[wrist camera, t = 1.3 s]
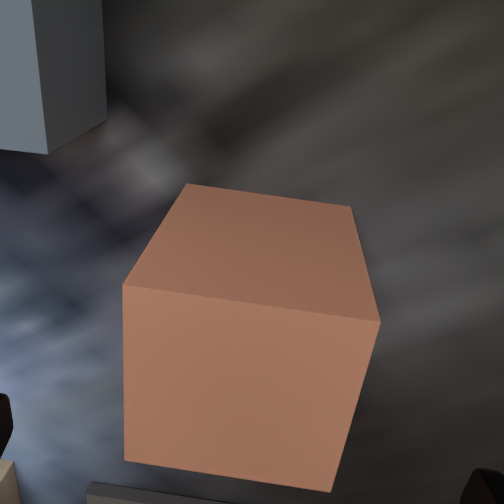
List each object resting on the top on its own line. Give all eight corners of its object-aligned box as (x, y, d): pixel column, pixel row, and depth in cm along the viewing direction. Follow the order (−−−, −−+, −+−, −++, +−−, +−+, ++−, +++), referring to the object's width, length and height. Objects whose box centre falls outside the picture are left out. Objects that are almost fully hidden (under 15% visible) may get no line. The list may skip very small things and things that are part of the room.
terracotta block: (350, 206, 14) (380, 322, 9) (320, 338, 17) (330, 492, 11) (186, 182, 15) (122, 284, 9) (179, 317, 17) (124, 460, 12)
